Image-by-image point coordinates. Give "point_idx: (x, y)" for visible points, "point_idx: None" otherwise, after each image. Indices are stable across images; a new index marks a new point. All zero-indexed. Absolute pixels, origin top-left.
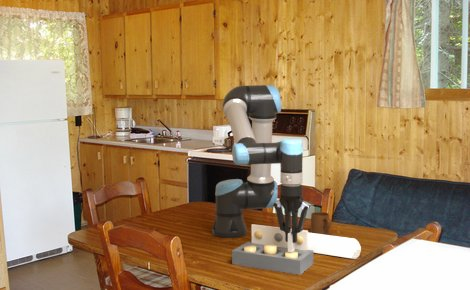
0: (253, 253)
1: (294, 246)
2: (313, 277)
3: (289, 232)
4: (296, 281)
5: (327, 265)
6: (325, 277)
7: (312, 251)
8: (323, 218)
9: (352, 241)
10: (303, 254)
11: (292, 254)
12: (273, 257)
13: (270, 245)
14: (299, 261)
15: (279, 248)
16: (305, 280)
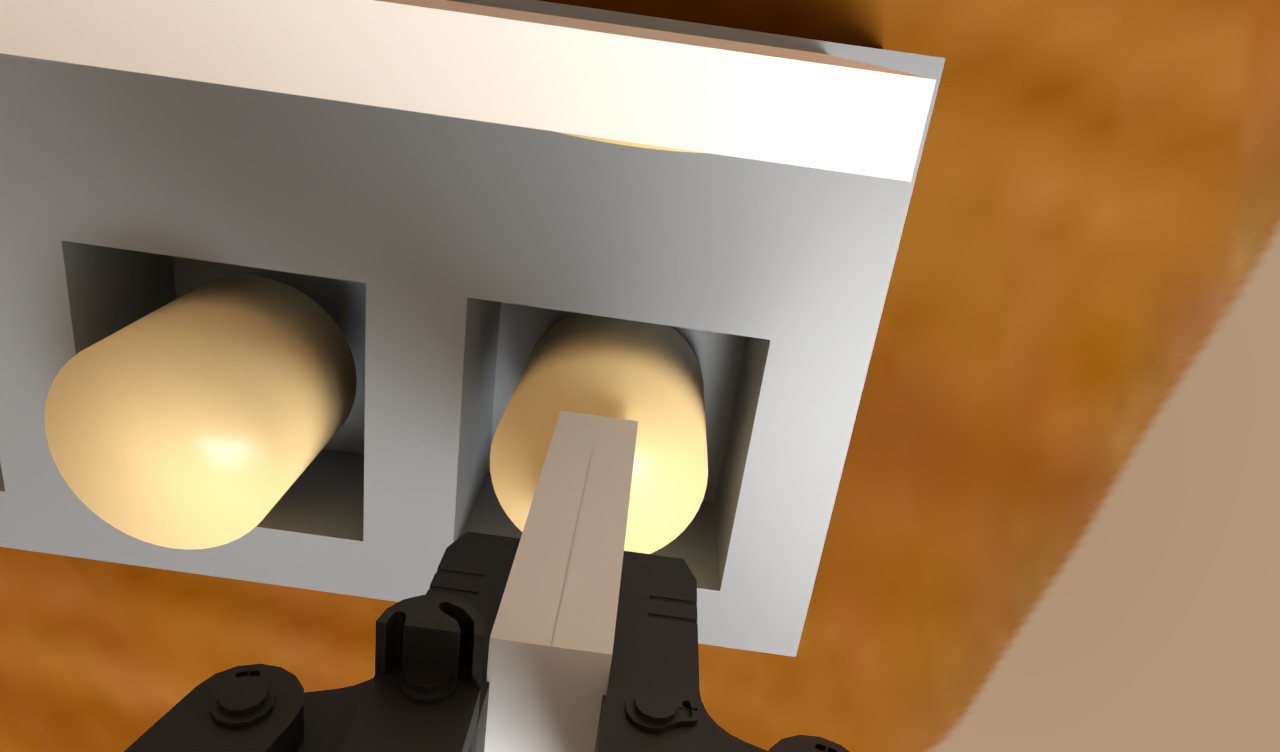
0: (30, 539)
1: (632, 469)
2: (939, 562)
3: (484, 725)
4: (771, 708)
5: (1112, 41)
6: (1083, 527)
7: (928, 119)
8: None
9: None
10: (791, 372)
11: (639, 545)
12: (375, 590)
13: (150, 419)
14: (782, 646)
15: (269, 145)
16: (860, 663)
